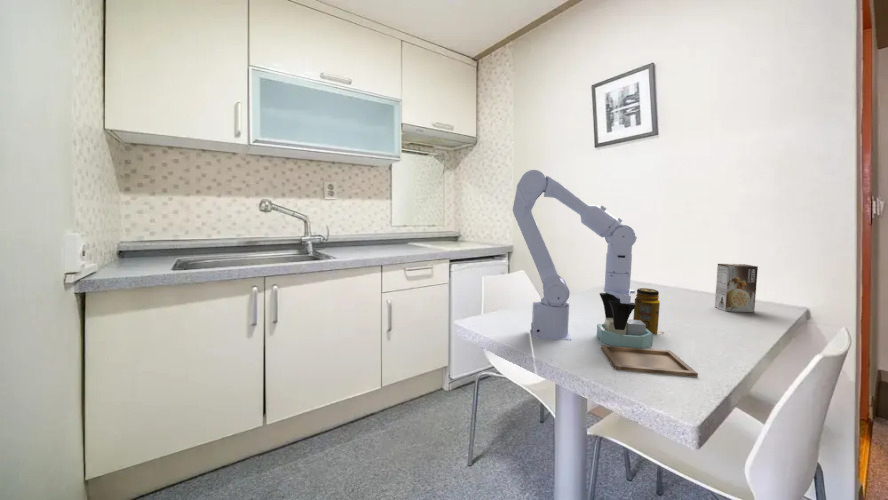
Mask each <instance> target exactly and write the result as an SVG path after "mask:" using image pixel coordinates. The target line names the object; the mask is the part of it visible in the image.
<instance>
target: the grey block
mask: <svg viewBox="0 0 888 500" xmlns="http://www.w3.org/2000/svg"><path fill="white" fill-rule="evenodd" d="M645 331H646V324H644V323H643V322H642V321H641V320H633V319H629V318H628V321H627V329H626V335H633V336H641V335H644V334H645Z"/></svg>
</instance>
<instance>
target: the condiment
mask: <svg viewBox="0 0 888 500" xmlns="http://www.w3.org/2000/svg"><path fill="white" fill-rule="evenodd" d="M659 294H660V293H659V291H658V290H657V289H653V288H645V287H643V288H638V289H636V295H635V296H636V297H635V298H634V303H635V304H636V306H635V308H634V309H633V318H632V320H641V321H642V322H643V323H644V324H646V329H648V330H649V331H650V332H651V333H653V335H663V334H664V333H665V332H662V331H659V317H660V305H661V303H660V302H661V301H660V300H659Z"/></svg>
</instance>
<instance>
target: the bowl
mask: <svg viewBox="0 0 888 500" xmlns="http://www.w3.org/2000/svg"><path fill="white" fill-rule="evenodd" d="M596 325H597V328H596V336H597V338H598V339H599V341H600V342H601V343H604V344H607V345H608V346H618V347H631V348H644V349H648V348H650V347H653V339H654V336H653V335H654V334H653V333H651V332H650V331H649V330H648V329H646V331H645V334H644V335H641V336H633V335H621V334H617V333H614V332H610V331H607V330H605V321H604V322H601V323H597V324H596Z"/></svg>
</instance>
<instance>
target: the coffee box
mask: <svg viewBox="0 0 888 500" xmlns="http://www.w3.org/2000/svg"><path fill="white" fill-rule="evenodd" d="M758 270H759V266H758V265H757V266H756V265H753V264H752V265H751V264H746V263H745V264H743V263H717V271H716V286H715V296H714V307H715V308H717V309H719V310H722V311H724V312H736V313H737V312H738V313H755V305H756V296H757V295H756V293H757V282H758Z"/></svg>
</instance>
